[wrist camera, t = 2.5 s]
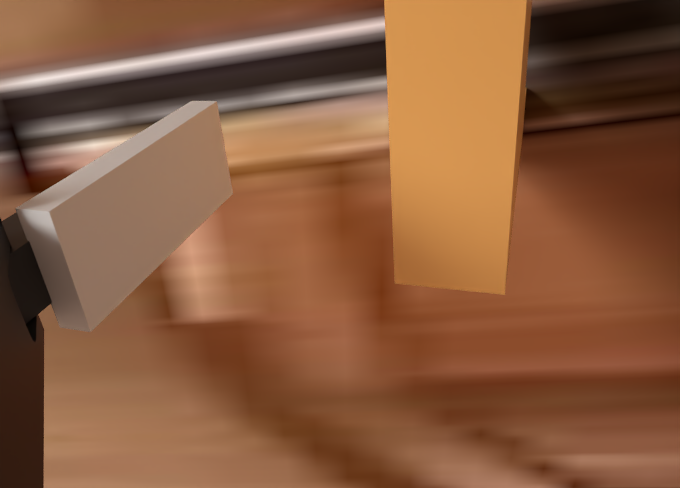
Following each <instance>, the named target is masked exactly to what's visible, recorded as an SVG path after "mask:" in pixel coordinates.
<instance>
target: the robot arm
mask: <svg viewBox="0 0 680 488" xmlns="http://www.w3.org/2000/svg"><path fill="white" fill-rule="evenodd" d="M232 194H233V191H232V186H231V180H230V174H229V168H228V163H227V157H226V151H225V146H224V140H223V134H222V129H221V123H220V117H219V111H218V106H217V101H191V102H189V103H187V104H186V105H184V106H183V107H181V108H179V109H178V110H176V111H174V112H173V113H171V114H169V115H168V116H166V117H165V118H163V119H161V120H160V121H158V122H156V123H155V124H153V125H151V126H150V127H148V128H147V129H145V130H143V131H142V132H140V133H138V134H137V135H135V136H133V137H132V138H130V139H129V140H127V141H125V142H124V143H122V144H120V145H119V146H117V147H115V148H114V149H112V150H111V151H109V152H107V153H106V154H104V155H102V156H101V157H99V158H97V159H96V160H94V161H93V162H91V163H89V164H88V165H86V166H84V167H83V168H81V169H79V170H78V171H76V172H74V173H73V174H71V175H70V176H68V177H66V178H65V179H63V180H61V181H60V182H58V183H56V184H55V185H53V186H52V187H50V188H48V189H47V190H45V191H43V192H42V193H40V194H38V195H37V196H35V197H34V198H32V199H30V200H29V201H27V202H25V203H24V204H22V205H20V206H19V207H17V208H16V213H15V214H13V215H11V216H10V217H8V218H7V219H5V220H3V221H1V219H0V488H43V456H44V328H43V326H42V323H41V321H40V318H39V316H38V314H39V313H40V312H41V311H42V310H44V309H45V308H46V307H47V306H48V305H49V304H51V305H52V308H53V310H54V313H55V316H56V318H57V321H58V324H59V326H60V327H61V328H68V329H74V330H81V331H87V332H91V331H92V330H93V329H94V328H95V327H96V326H97V325H98V324H99V323H101V322H102V321H103V320H104V319H105V318H106V317H107V316H108V315H109V314H110V313H111V312H112V311H113V310H114V309H115V308H116V307H117V306H118V305H119V304H120V303H121V302H122V301H123V300H124V299H125V298H126V297H127V296H128V295H129V294H130V293H131V292H132V291H133V290H134V289H135V288H136V287H138V286H139V285H140V284H141V283H142V282H143V281H144V280H145V279H146V278H147V277H148V276H149V275H150V274H151V273H152V272H153V271H154V270H155V269H156V268H157V267H158V266H159V265H160V264H161V263H162V262H163V261H164V260H165V259H166V258H167V257H168V256H169V255H170V254H171V253H172V252H173V251H175V250H176V249H177V248H178V247H179V246H180V245H181V244H182V243H183V242H184V241H185V240H186V239H187V238H188V237H189V236H190V235H191V234H192V233H193V232H194V231H195V230H196V229H197V228H198V227H199V226H200V225H201V224H202V223H203V222H204V221H205V220H206V219H207V218H208V217H209V216H210V215H212V214H213V213H214V212H215V211H216V210H217V209H218V208H219V207H220V206H221V205H222V204H223V203H224V202H225V201H226V200H227V199H228V198H229V197H230V196H231V195H232Z"/></svg>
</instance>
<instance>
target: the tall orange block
mask: <svg viewBox="0 0 680 488" xmlns="http://www.w3.org/2000/svg"><path fill="white" fill-rule="evenodd" d="M384 4H385V32H386V59H387V86H388V113H389V141H390V168H391V195H392V222H393V250H394V277H395V283H396V284H406V285H415V286H425V287H435V288H445V289H454V290H464V291H474V292H484V293H493V294H503V295H505V288H506V279H507V270H508V261H509V252H510V244H511V235H512V226H513V217H514V208H515V199H516V191H517V182H518V173H519V164H520V155H521V146H522V137H523V126H524V114H525V101H526V89H527V88H525V84H526V72H527V59H528V46H529V34H530V21H531V8H532V0H384Z"/></svg>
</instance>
